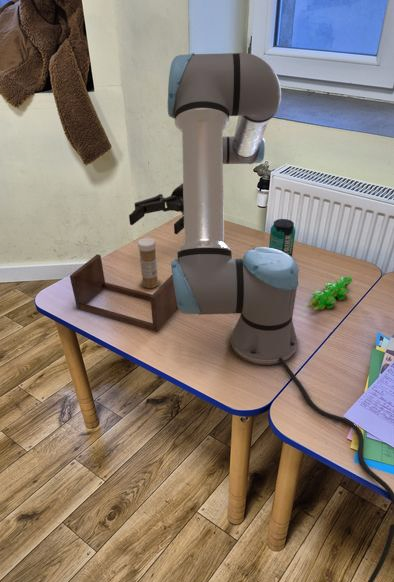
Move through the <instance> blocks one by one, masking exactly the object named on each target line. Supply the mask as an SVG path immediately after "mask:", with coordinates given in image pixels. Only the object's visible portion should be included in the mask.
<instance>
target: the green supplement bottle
mask: <svg viewBox="0 0 394 582" xmlns="http://www.w3.org/2000/svg"><path fill="white" fill-rule="evenodd" d="M295 237H296V227H295V223H294V222H293V221H292V220H290V219H286V218H279V219H276V220H274V221H273V224H272V226H271V227H270V232H269V242H268V243H269V244H268V248H273V249H277V250H280V251H282V252H284V253H286V254H288V255H289V256H291V257H292V258H293V252H294V243H295Z"/></svg>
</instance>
